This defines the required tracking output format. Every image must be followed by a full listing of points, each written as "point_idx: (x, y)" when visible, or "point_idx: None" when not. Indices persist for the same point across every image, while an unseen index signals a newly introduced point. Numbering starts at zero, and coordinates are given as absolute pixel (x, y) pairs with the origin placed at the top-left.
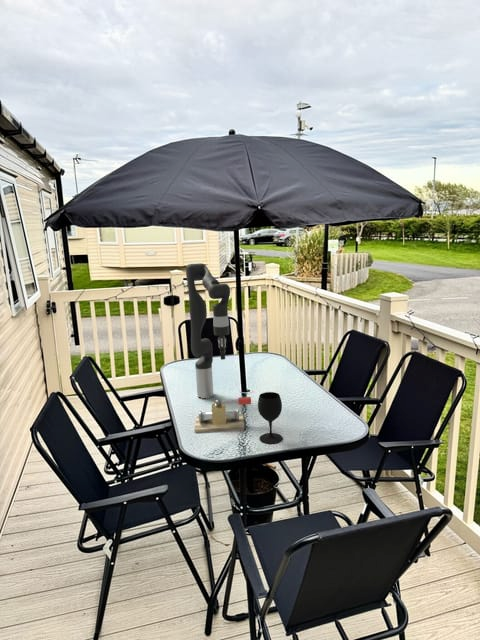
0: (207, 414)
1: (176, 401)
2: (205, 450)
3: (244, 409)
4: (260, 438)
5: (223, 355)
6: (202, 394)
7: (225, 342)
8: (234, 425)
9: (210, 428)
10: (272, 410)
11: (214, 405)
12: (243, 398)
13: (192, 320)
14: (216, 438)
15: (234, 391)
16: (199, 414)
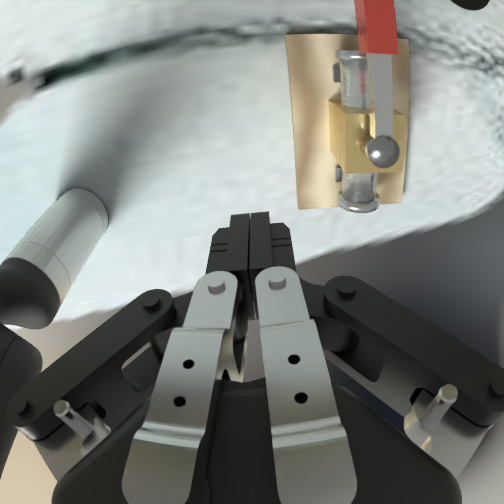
0: (374, 178)
1: (145, 288)
2: (494, 162)
3: (202, 36)
4: (469, 6)
5: (292, 255)
6: (102, 226)
7: (340, 418)
8: (395, 71)
9: (405, 153)
10: None
11: (370, 162)
12: (383, 27)
13: None
14: (446, 132)
15: (26, 123)
16: (376, 207)
